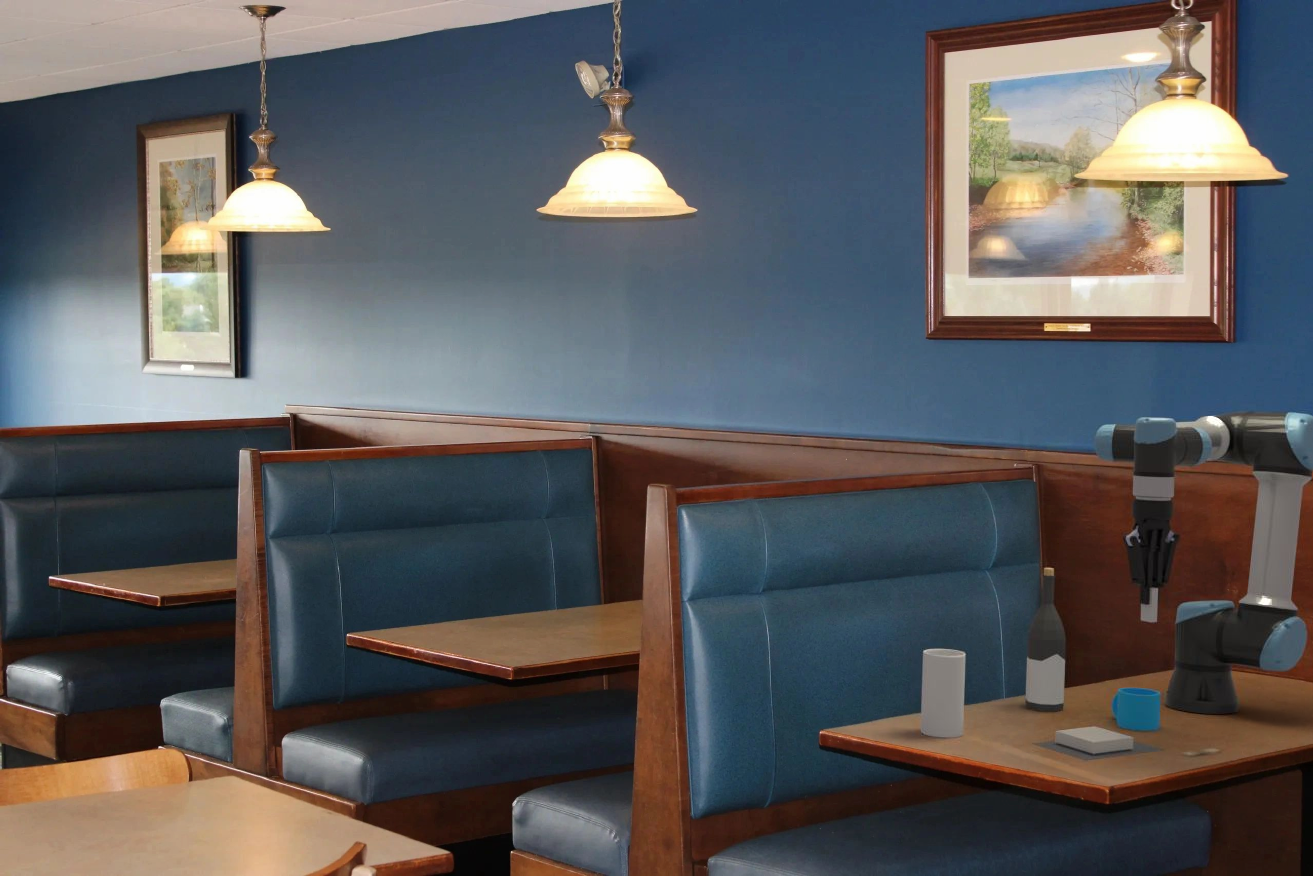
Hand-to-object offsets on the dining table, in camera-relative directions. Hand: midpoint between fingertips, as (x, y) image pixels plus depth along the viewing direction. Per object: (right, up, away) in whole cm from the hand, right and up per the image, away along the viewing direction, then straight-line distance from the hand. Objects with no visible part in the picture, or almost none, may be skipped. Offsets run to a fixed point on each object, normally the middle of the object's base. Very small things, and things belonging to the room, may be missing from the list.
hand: (1148, 621), depth 300 cm
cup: (-38, -23, +9) cm, 45 cm away
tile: (-8, -22, -3) cm, 23 cm away
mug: (+1, -24, +16) cm, 29 cm away
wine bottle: (-11, -23, +35) cm, 43 cm away
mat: (-11, -24, -5) cm, 27 cm away
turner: (+4, -25, -11) cm, 27 cm away
